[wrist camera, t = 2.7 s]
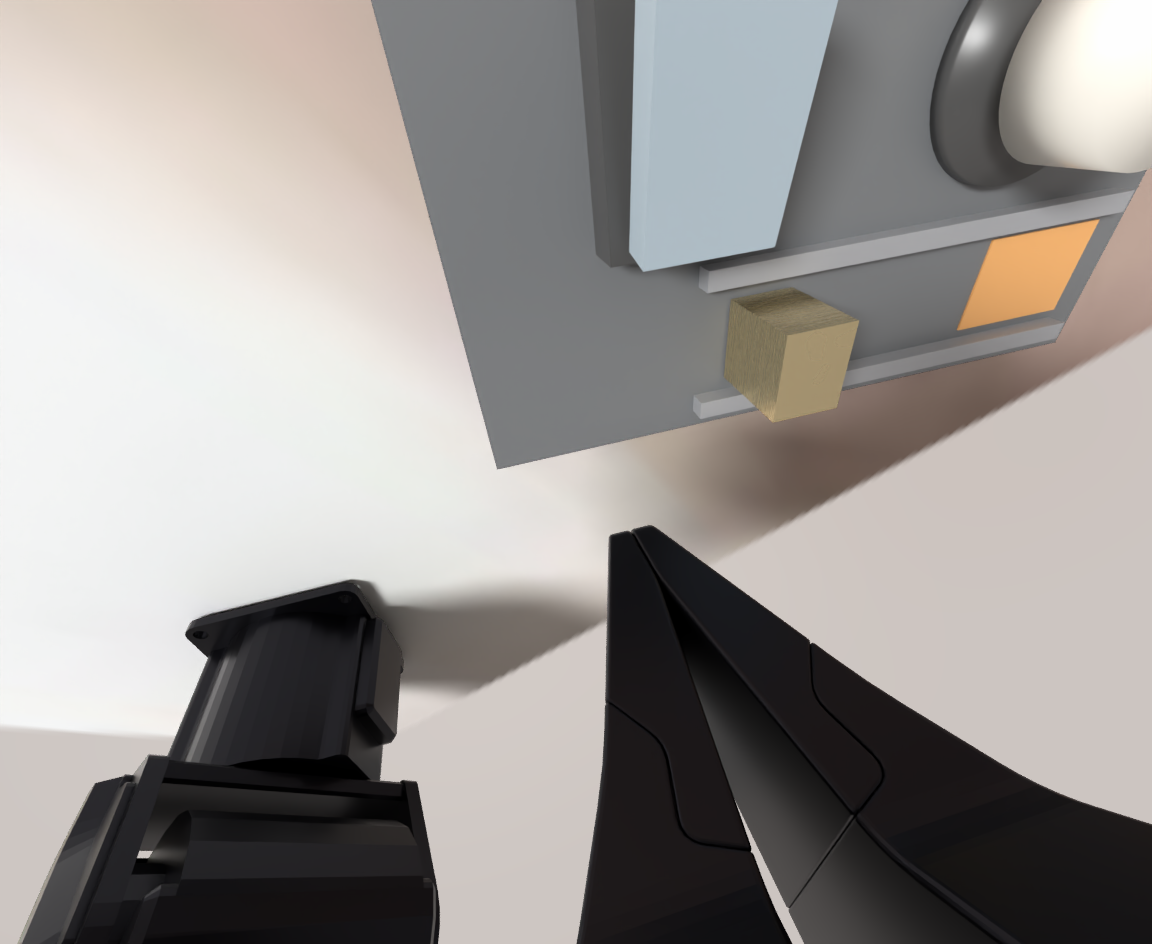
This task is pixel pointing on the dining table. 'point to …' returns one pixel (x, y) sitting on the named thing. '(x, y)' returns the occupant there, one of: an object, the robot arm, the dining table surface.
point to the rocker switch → (718, 122)
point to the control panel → (704, 289)
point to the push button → (1081, 87)
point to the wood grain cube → (788, 352)
